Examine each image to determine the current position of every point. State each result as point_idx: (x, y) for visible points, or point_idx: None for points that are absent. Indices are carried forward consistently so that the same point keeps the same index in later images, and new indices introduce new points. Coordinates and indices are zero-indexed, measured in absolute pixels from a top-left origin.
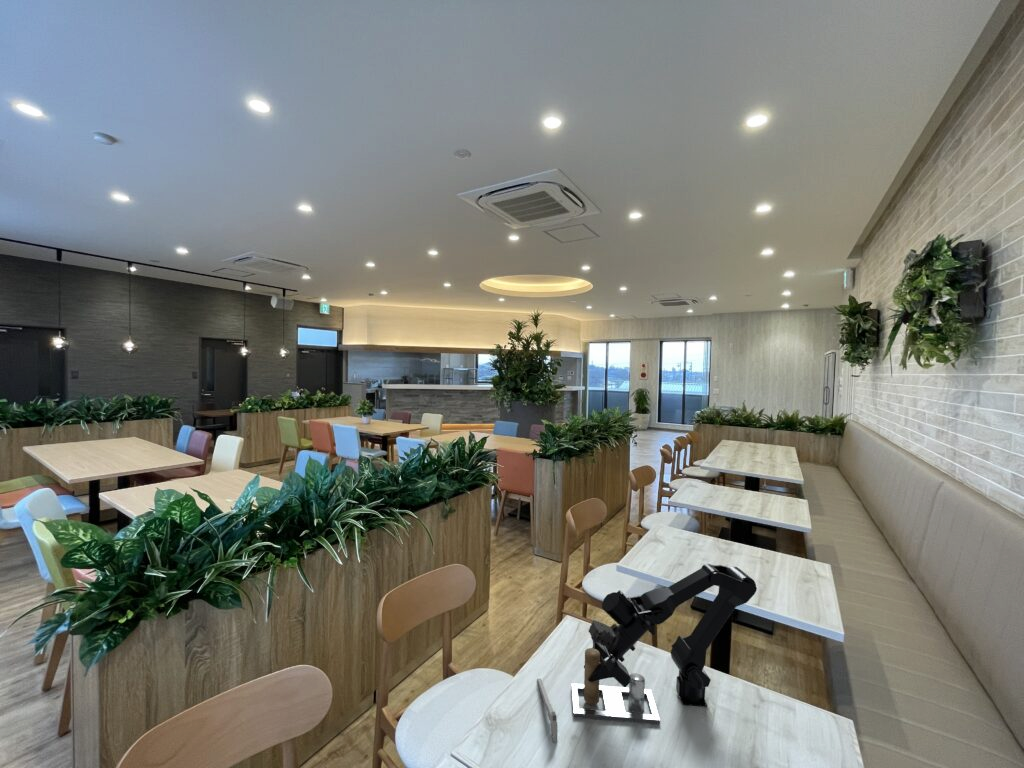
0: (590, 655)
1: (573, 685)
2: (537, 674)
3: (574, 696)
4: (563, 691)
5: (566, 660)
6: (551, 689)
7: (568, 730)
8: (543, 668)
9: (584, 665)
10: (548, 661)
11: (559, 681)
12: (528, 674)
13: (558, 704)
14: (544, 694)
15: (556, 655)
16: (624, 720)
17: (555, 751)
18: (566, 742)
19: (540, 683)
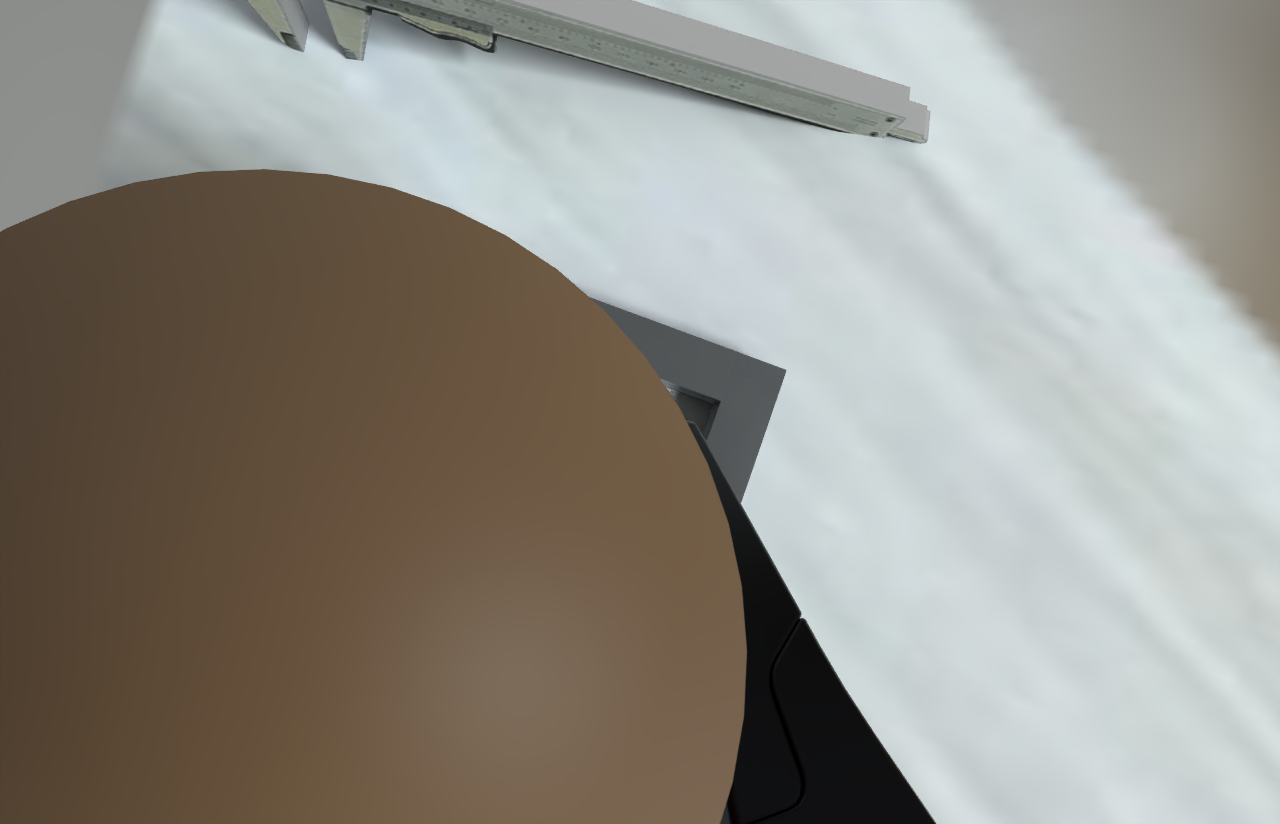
0: (86, 440)
1: (758, 378)
2: (982, 139)
3: (630, 332)
4: (748, 289)
5: (1095, 462)
6: (793, 196)
7: (365, 174)
8: (1040, 215)
9: (694, 433)
10: (1114, 290)
11: (863, 298)
12: (998, 64)
13: (627, 194)
14: (677, 25)
15: (1175, 392)
16: None
17: (221, 8)
18: (268, 117)
19: (844, 76)
